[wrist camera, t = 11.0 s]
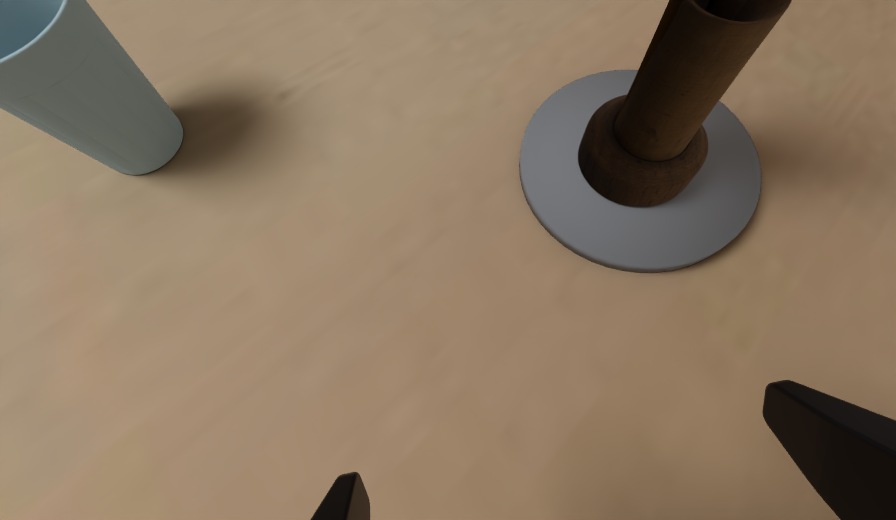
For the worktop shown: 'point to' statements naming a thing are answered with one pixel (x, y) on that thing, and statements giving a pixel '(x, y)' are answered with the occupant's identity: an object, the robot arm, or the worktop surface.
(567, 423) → the worktop surface
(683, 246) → the mat
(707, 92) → the wooden pepper mill
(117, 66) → the cup
